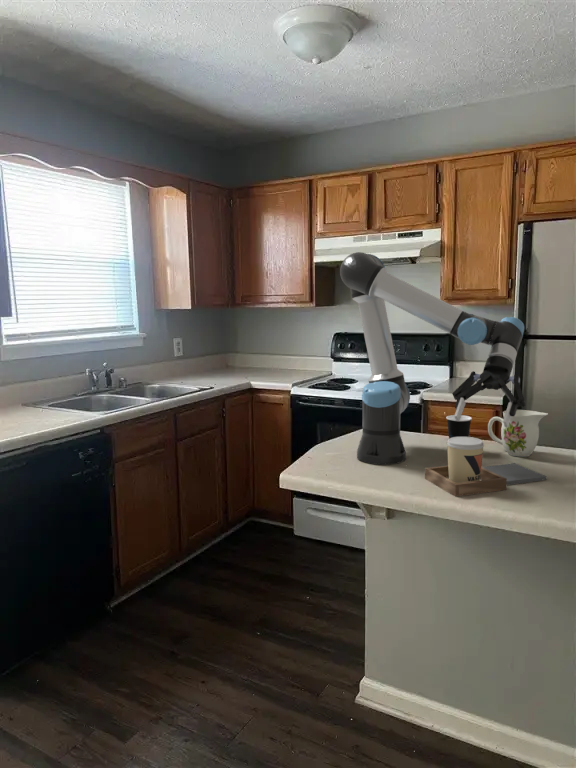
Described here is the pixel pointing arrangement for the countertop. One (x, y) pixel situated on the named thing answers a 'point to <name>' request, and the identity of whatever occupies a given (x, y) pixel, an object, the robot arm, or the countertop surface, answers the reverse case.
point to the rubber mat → (516, 473)
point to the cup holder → (487, 483)
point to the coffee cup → (464, 459)
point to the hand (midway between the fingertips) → (480, 421)
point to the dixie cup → (458, 426)
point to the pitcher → (519, 432)
